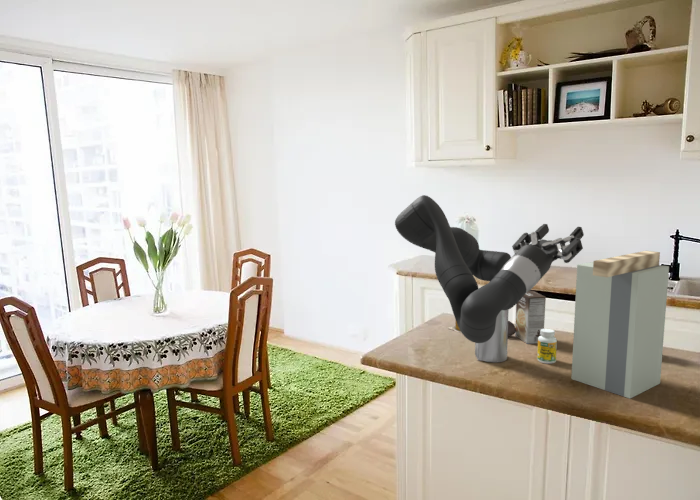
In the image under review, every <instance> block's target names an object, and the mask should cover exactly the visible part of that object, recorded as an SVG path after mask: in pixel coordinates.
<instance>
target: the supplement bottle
mask: <svg viewBox="0 0 700 500" xmlns="http://www.w3.org/2000/svg"><path fill="white" fill-rule="evenodd" d="M555 333H556V331H555V329H552V328H544V329H541V331H540V334H541V336H539V337H538V343H537V351H536V352H537V354H536V356H537V362H540V363H543V364H548V365H551V364H554V363H556V362H557V345H558V341H557V338H556V337H555Z"/></svg>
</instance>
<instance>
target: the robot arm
mask: <svg viewBox="0 0 700 500" xmlns="http://www.w3.org/2000/svg"><path fill="white" fill-rule="evenodd" d="M394 226H395V229H396V231H397V232H398V234H399V235H400V236H401V237H402V238H403V239H405V240H406V241H408V243H410V244H412V245H414V246H417V247H420V248H422V249H425V250H427V251H431V252H433V253H434V271H435V277H436V278H437V281H438V283H439V285H440V287H441V288H442V290H443V292H444V294H445V295H446V297H447V299H448V302H449V303H450V307H451V310H452V313H453V315H454V319H455V323H456V322H457V325H458V327H459V329H460V331H461V332H462V333H461V332H460V333H461V334H462V336H464V337H465V339H467V340H468V341H470V342H471V343H474V345H475V346H474V355H475V357H476V359H477V361H482V362H483V361H484V362H487V363H502V362H505V361H507V359H508V344H509V343H508V341H509V340H508V339H509V338H508V337H509V336H508V321H509V311H510V309H512V308H514V307H516V304H517V303H518V301H519V300H520V299H521V298H522V297H523V296H524V295H525V294H526V293H527V292H528V291H532V289H533V288H534V287H535V286H536V285H537V284H538V282H539V281H540V280H541V279H542V278H543V277H544V276H545V275H546V274H547V273H548V271H549V270H550V269H551V266H552V263H553V262H555V261H557V260H558V259H559V260H563V263H564V264H569V263H570V262H571V261H572V260H573V259H574V258H575V257H576V256H577V255H578V254H580V252H581V251H582V250H583V249H584V248H583V244H582V240H581V239H582V238H583V237H584V235H585V233H584V230H583V228H582V227H581V226H577V227H576V228H575V229H574V230H573V231H572V232H571V233H570V234H569V236H566V237H564V238H563V237H558V238H556V239H554V240H549V239H548V240H546V239H543V238H544V237H545V236H547V234H548V233H549V232H550V228H549V226H548V223H543V224H541V226H539V227H538V228H537V229H536V230H535V231H532V232H530V233H528V232H523V234H521V236H519V237H518V239H517V240H516V241H515V242H514V243H513V245H512V246H511V247H512V250H513V253H514V254H513V255H512V256H511V255H510V254H509V253H508V252H505V251H496V250H486V249H485V250H483V249H480V245H479V241H478V240H477V239H476V238H475V237H474V236H473V235H472V234H470V233H469V232H468V231H466V230H464V228H460V227H457V226H450V223H449V220H448V219H447V216H446V214H445V212H444V211H443V209H442V207H440V205H439V204H438V203H437V202H436V200H434V199H433V198H432V197H430V196H428V195H426V194H425V195H424V194H422V195H420V196H419V197H417V198H416V199H414V200H413V202H411V203H410V204H409V205H407V207H406V208H405V209H404V210H402V211H401V212H400V213H399V214H398V216H397V217H396V218H395V220H394ZM568 242H569V244H566V243H568ZM558 245H559V246H560V249H559V247H558ZM476 279H478V280H481V281H485V282H488V283H486V284H484V285H482V286H480V287H479V284H478V281H477V280H476Z"/></svg>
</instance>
